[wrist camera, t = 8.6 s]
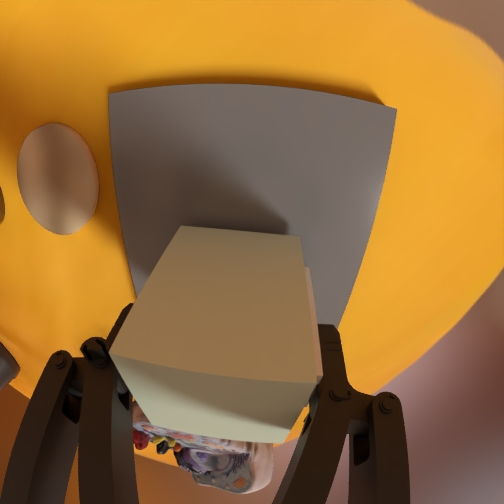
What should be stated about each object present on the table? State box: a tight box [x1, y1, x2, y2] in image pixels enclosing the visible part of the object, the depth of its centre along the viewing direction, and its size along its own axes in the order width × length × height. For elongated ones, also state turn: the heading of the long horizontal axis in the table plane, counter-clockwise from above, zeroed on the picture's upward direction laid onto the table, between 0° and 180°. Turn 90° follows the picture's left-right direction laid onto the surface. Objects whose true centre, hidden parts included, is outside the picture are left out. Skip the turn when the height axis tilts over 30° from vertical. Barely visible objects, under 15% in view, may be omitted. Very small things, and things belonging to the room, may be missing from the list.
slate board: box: [109, 84, 397, 329], centre depth 16 cm, size 14×20×1 cm
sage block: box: [108, 226, 317, 444], centre depth 12 cm, size 6×6×8 cm
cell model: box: [132, 400, 274, 494], centre depth 25 cm, size 13×11×20 cm
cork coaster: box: [17, 123, 99, 235], centre depth 14 cm, size 8×8×1 cm
